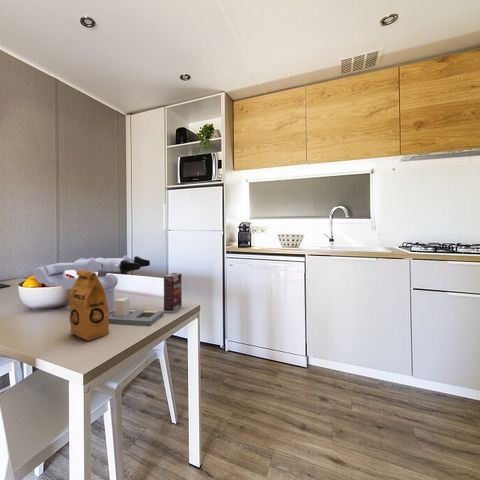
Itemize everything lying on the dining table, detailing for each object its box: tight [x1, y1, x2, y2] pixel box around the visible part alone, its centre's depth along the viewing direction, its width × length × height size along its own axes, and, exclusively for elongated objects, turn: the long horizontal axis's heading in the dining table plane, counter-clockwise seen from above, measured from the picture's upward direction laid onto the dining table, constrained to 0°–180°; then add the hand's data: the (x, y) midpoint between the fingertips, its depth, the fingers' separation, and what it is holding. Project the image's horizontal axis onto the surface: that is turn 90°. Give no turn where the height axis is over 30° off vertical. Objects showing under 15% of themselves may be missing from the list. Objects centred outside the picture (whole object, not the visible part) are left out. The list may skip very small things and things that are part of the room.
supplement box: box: [163, 272, 183, 314], centre depth 108 cm, size 9×5×16 cm, turn 168°
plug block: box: [114, 297, 131, 317], centre depth 98 cm, size 4×4×8 cm
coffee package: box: [68, 270, 110, 342], centre depth 83 cm, size 10×12×22 cm
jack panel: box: [108, 309, 165, 327], centre depth 97 cm, size 20×11×2 cm, turn 82°
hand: (144, 264), depth 102 cm, fingers open, 7 cm apart
